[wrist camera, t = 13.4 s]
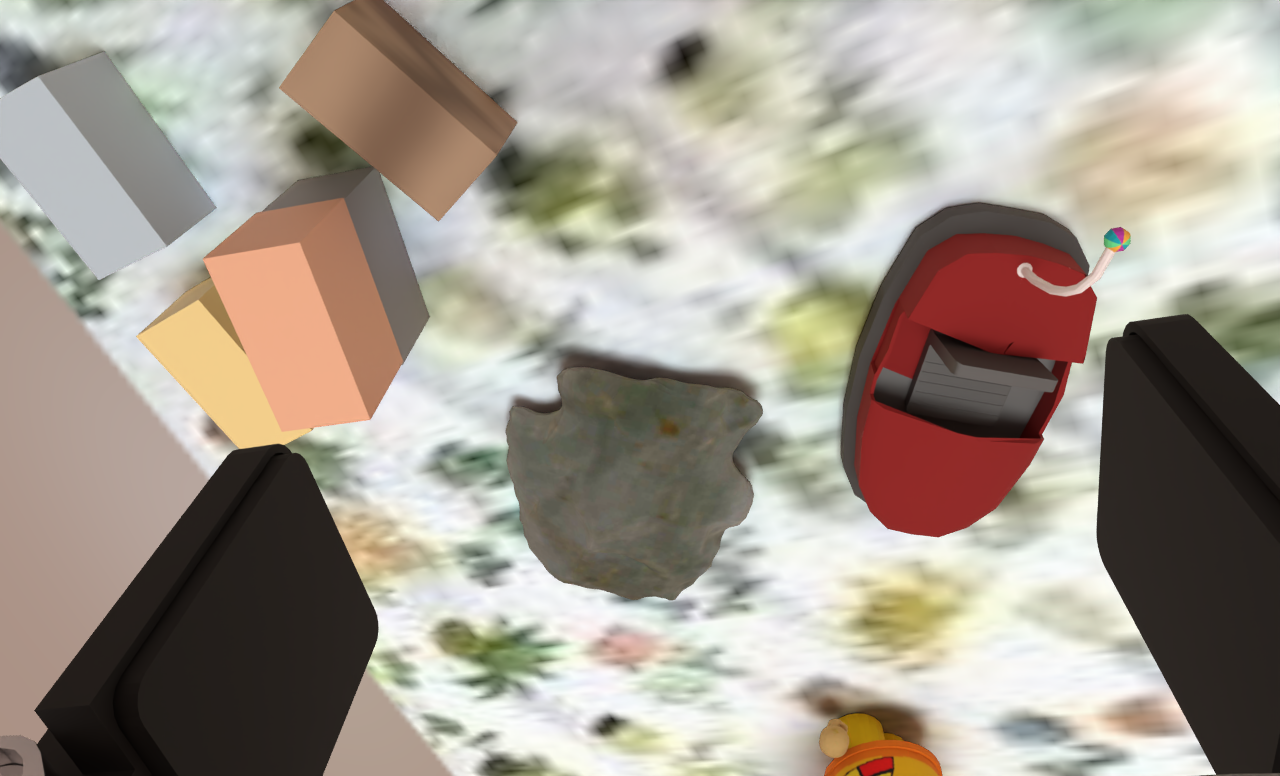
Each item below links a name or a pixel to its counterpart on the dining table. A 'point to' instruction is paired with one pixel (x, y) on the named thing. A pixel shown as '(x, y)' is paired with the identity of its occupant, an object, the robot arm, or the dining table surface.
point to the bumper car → (965, 363)
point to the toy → (872, 750)
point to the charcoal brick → (372, 244)
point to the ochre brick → (214, 367)
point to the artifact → (630, 480)
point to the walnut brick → (399, 103)
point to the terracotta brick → (307, 314)
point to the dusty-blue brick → (98, 164)
